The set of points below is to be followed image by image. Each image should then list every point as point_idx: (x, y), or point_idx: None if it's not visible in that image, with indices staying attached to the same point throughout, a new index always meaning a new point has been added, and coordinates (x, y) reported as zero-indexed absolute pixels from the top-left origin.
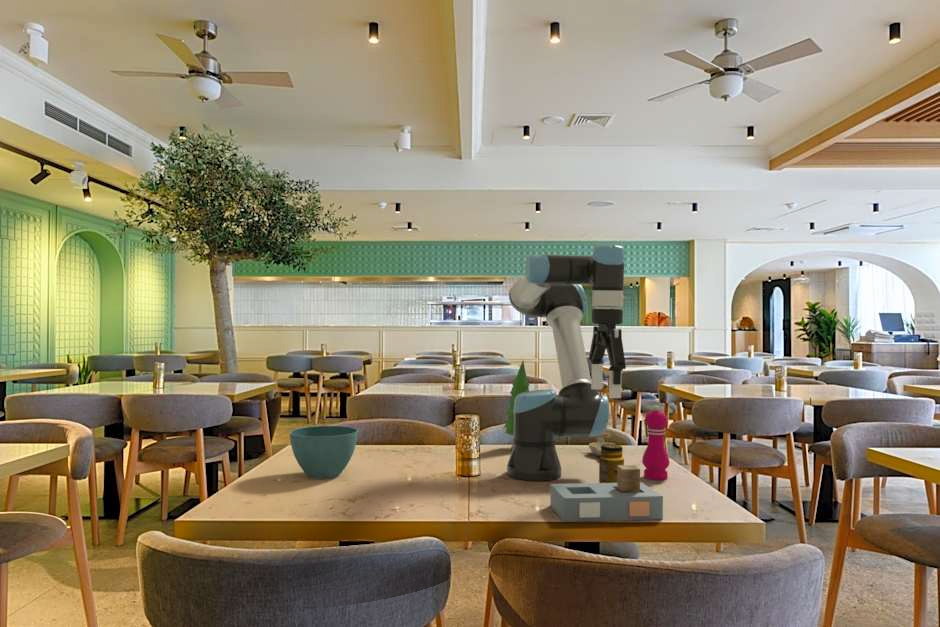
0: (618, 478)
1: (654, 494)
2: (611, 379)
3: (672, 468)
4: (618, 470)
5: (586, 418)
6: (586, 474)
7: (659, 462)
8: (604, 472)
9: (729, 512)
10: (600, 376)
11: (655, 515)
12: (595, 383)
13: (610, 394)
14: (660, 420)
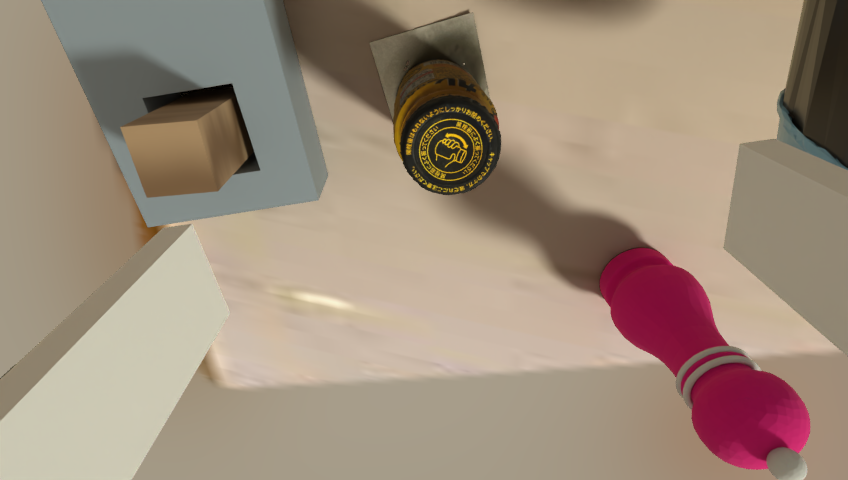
0: (198, 110)
1: (160, 207)
2: (36, 361)
3: (731, 342)
4: (185, 117)
5: (826, 77)
6: (712, 53)
7: (616, 311)
8: (408, 85)
9: (286, 360)
10: (829, 311)
11: None
12: (777, 206)
13: (144, 247)
14: (701, 428)
